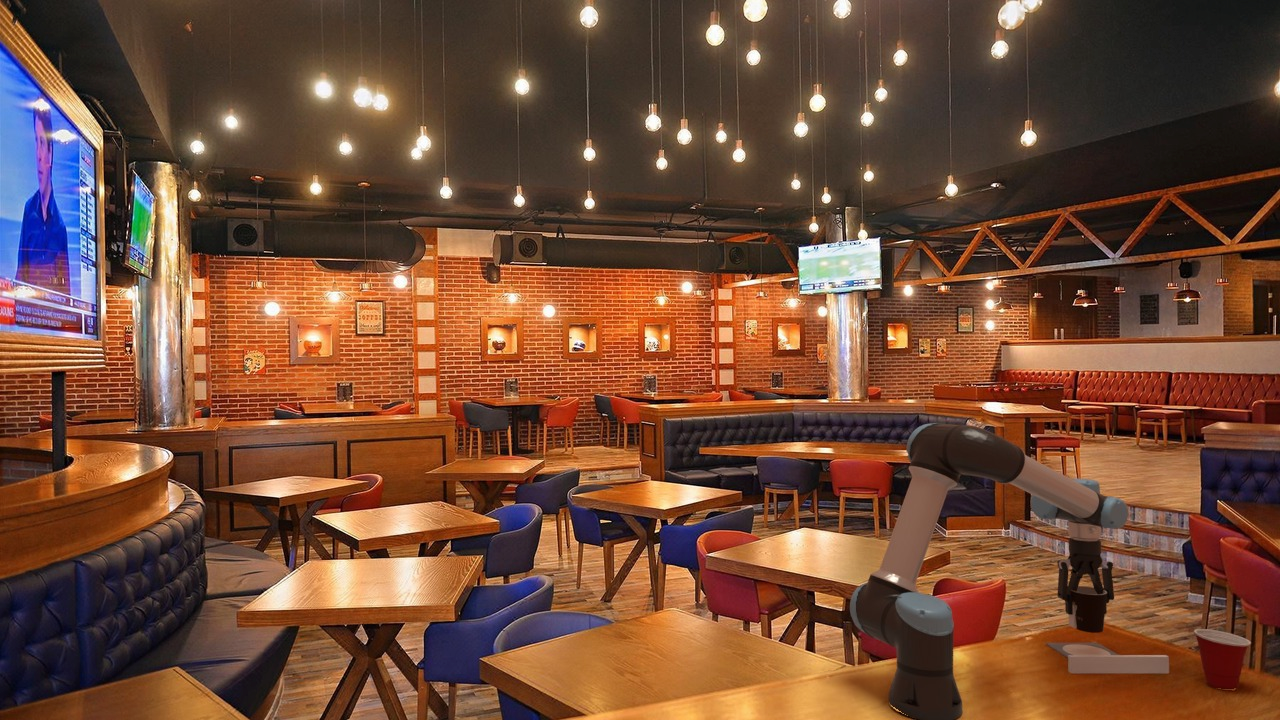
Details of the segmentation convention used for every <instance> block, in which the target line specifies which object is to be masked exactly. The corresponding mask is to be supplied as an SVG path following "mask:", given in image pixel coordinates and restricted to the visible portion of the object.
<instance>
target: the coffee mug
mask: <svg viewBox="0 0 1280 720" xmlns="http://www.w3.org/2000/svg"><path fill="white" fill-rule="evenodd" d="M1070 591H1071V592H1072V597H1073V602H1072V604H1073V605H1074V610H1075V618H1076V625H1077V628H1075V629H1076V630H1078V631H1081V632H1083V633H1092V634H1094V633H1095V634H1100V633H1103V631H1104V628H1103V626H1104V627H1105V618H1106V617H1105V615H1106V614H1105V608H1106V605H1107V603H1106V598H1107V591H1105V590H1103V594H1097V592H1096V591H1095V589H1094V586H1085V585H1081V586H1080V585H1078V589H1077V592H1075V591H1072V590H1070ZM1106 609H1107V608H1106Z"/></svg>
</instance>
